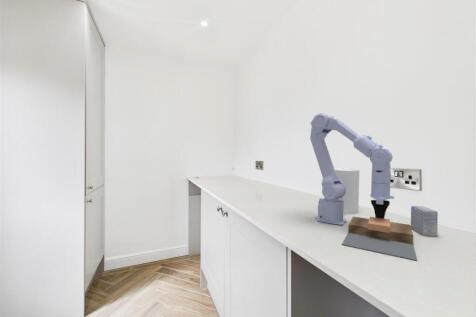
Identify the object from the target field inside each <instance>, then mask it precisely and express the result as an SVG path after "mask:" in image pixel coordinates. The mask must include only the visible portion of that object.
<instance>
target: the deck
mask: <svg viewBox="0 0 476 317" xmlns="http://www.w3.org/2000/svg"><path fill="white" fill-rule="evenodd" d="M368 222H369V218H366V217H359V216H352V218H351V219H350V221H349V222H348V226H347V227H348V228H347V229H348V232H347V234H348V233H352V234H358V235H363V236H368V237H374V238H379V239H385V240H390V241H396V242H401V243H407V244H412V245H413V246H414V234H413V229H411V224H408V223H407V224H406V223H400V222H393V221H390V233H387V232H381V231H375V230H369V229H368Z"/></svg>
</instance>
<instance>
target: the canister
mask: <svg viewBox="0 0 476 317" xmlns="http://www.w3.org/2000/svg"><path fill="white" fill-rule="evenodd" d="M334 170H335V173H336V175H337V176H338V177H339V178H340V180H341V183H342V184H343V185H344V186H345V188H346V193H345V195H344V196H343V199H344V210H343V215H356V214H359V206H360V205H359V204H360V203H359V201H360V196H359V195H360V169H355V168H354V169H353V168H334Z"/></svg>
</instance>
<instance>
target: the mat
mask: <svg viewBox="0 0 476 317" xmlns="http://www.w3.org/2000/svg"><path fill="white" fill-rule="evenodd" d="M341 245H342V246H345V247H350V248H354V249H357V250H358V249H360V250H363V251H368V252H373V253H378V254H382V255H387V256H392V257H396V258H401V259H405V260H410V261H416V262H417V261H418V258H417V255H416V249H415V246H414V244H413V245H412V244H407V243H401V242H396V241H390V240H385V239H380V238H374V237H369V236H363V235H358V234H352V233H348V232H347V234H346V235H345V238H344V239H343V241H342V243H341Z"/></svg>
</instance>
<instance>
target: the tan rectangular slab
mask: <svg viewBox="0 0 476 317" xmlns="http://www.w3.org/2000/svg"><path fill="white" fill-rule="evenodd" d="M368 219H369V222H368V229H369V230H375V231H381V232H387V233H390V222H391V220H390V219H389V218H388V219H387V218H384V219H382V218H375V216H369V218H368Z"/></svg>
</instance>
